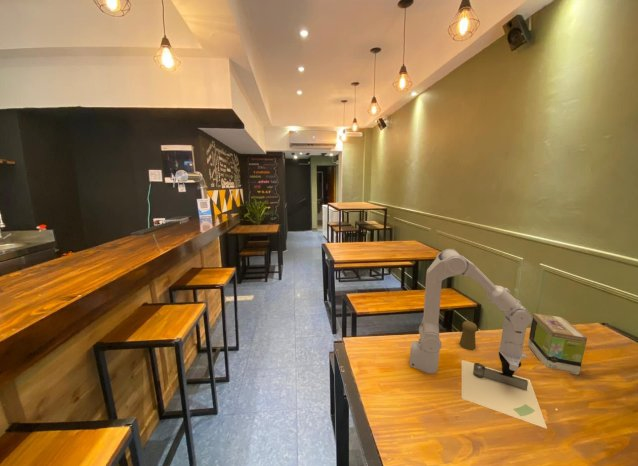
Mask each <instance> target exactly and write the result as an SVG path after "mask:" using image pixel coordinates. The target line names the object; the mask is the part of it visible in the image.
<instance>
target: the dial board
mask: <svg viewBox="0 0 638 466" xmlns="http://www.w3.org/2000/svg"><path fill="white" fill-rule="evenodd" d="M474 364H475V363H474V362H470V361H466V360H463V359H462V360H461V399H462V400H464V401H467V402H471V403H473V404H476V405H477V406H478V405H479V406H481V407H484V408H487V409H490V410H493V411H495V412H498V413H501V414H504V415H506V416H510V417H512V418H515V419H518V420H520V421H524V422H526V423H530V424H532V425H534V426H537V427H541V428H543V429H547V430H548V428H547V424H546V421H545V419H544V416H543V413H542V410H541V407H540V404H539V402H538V399H537V396H536V393H535V391H534V387H533V384H532V382H531V380H530V379H528V378H525V377H522V376H518V375H515V374H513V376H515V377H518V378H521V379H525V380H527V381H528V386H527V390H524V389H520V388H517V387H514V386H511V385H507V384H504V383H501V382H498V381H494V380H491V379H488V378H485V377H483V378H479V377H476V376H475V375H474V374H473V369H474ZM483 366H484V367H485V368H487V369H491V370H494V371H497V372H501V373H502V370H499V369H498V370H497V369H495V368H490V367H487V366H485V365H483Z"/></svg>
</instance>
